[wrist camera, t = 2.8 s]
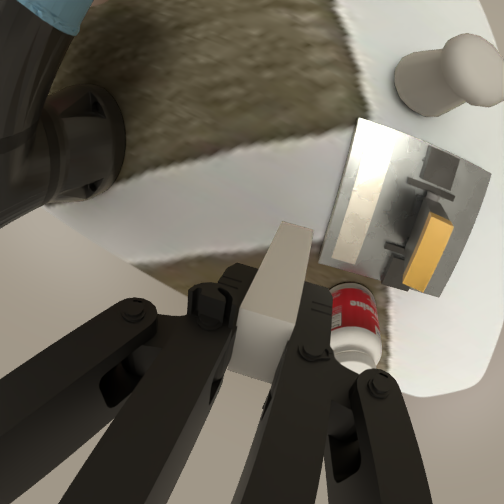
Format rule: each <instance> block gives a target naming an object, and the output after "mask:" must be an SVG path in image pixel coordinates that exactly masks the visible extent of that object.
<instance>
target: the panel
mask: <svg viewBox="0 0 504 504" xmlns="http://www.w3.org/2000/svg"><path fill="white" fill-rule="evenodd" d="M490 177H491V173H489V172H487V171H485V170H484V169H482V168H480V167H478V166H476V165H474V164H472V163H470V162H468V161H466V160H464V159H462V158H460V157H458V156H456V155H454V154H452V153H450V152H448V151H446V150H443V149H441V148H439V147H437V146H434V145H432V144H430V143H427V142H425V141H423V140H420V139H418V138H415V137H413V136H410V135H407V134H405V133H402V132H400V131H397V130H394V129H391V128H388V127H386V126H383V125H380V124H377V123H374V122H371V121H368V120H364V119H361V118H357V119H356V123H355V128H354V132H353V136H352V140H351V144H350V148H349V152H348V156H347V160H346V164H345V168H344V172H343V175H342V179H341V183H340V186H339V190H338V193H337V197H336V201H335V204H334V207H333V211H332V214H331V218H330V221H329V224H328V228H327V231H326V234H325V237H324V241H323V244H322V247H321V250H320V253H319V262H318V263H320V264H324V265H327V266H331V267H334V268H338V269H342V270H345V271H349V272H352V273H356V274H359V275H363V276H366V277H370V278H373V279H377V280H380V281H381V283H382V284H383V285H387V286H390V287H394V288H397V289H401V290H404V291H408V290H409V289H411V290H415V291H418V292H421V291H419V290H416V289H414V288H412V287H410V286H407V285H405V284H403V283H402V282H403V274H404V261H405V246H406V244H407V241H408V239H409V236H410V234H411V231H412V229H413V226H414V224H415V221H416V218H417V216H418V213H419V210H420V207H421V205H422V202H423V199H424V196H425V197H426V195H427V192H428V191H431V192H433V193H435V194H437V195H439V196H440V198H439V201H438V202H439V203H441V205H442V207H443V209H444V210H445V212H446V214H447V216H448V218H449V220H450V221H451V222H452V224H453V226H454V228H453V230H452V233H451V235H450V238H449V240H448V242H447V245H446V247H445V249H444V251H443V254H442V256H441V258H440V260H439V262H438V264H437V266H436V268H435V270H434V273H433V275H432V277H431V279H430V281H429V282H428V284H427V286H426V288H425V290H424V292H422V293H425V294H429V295H432V296H436V297H440V295H441V293H442V291H443V289H444V287H445V286H446V284H447V282H448V280H449V278H450V276H451V274H452V272H453V270H454V268H455V266H456V264H457V262H458V260H459V258H460V256H461V253H462V251H463V249H464V247H465V244H466V242H467V240H468V238H469V235H470V233H471V230H472V228H473V226H474V223H475V221H476V218H477V215H478V213H479V210H480V207H481V205H482V202H483V199H484V196H485V193H486V190H487V187H488V184H489V181H490Z"/></svg>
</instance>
